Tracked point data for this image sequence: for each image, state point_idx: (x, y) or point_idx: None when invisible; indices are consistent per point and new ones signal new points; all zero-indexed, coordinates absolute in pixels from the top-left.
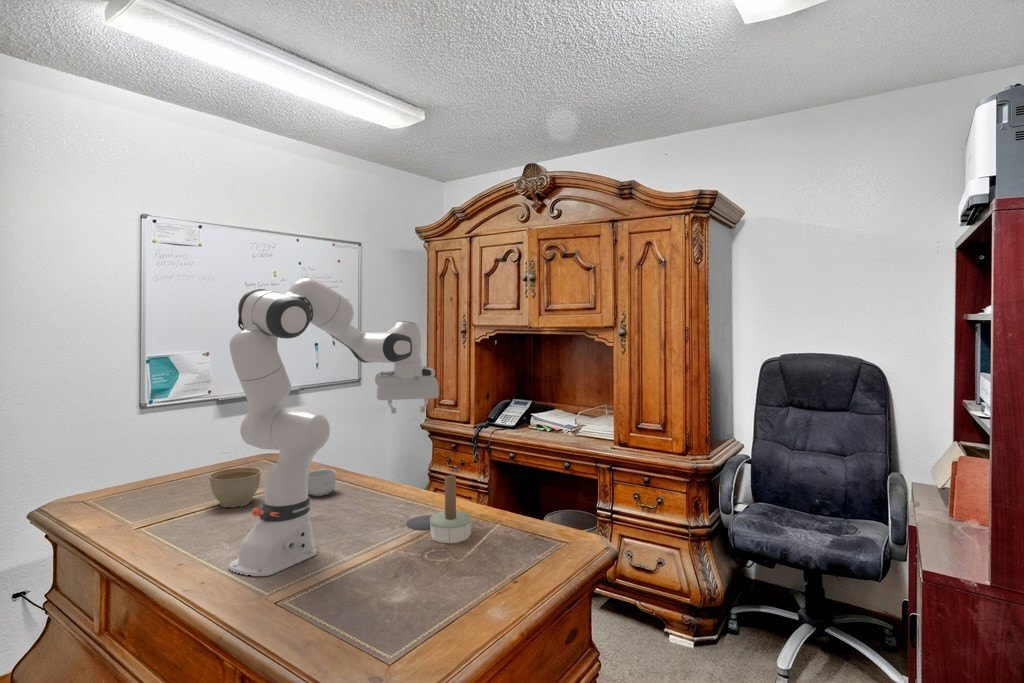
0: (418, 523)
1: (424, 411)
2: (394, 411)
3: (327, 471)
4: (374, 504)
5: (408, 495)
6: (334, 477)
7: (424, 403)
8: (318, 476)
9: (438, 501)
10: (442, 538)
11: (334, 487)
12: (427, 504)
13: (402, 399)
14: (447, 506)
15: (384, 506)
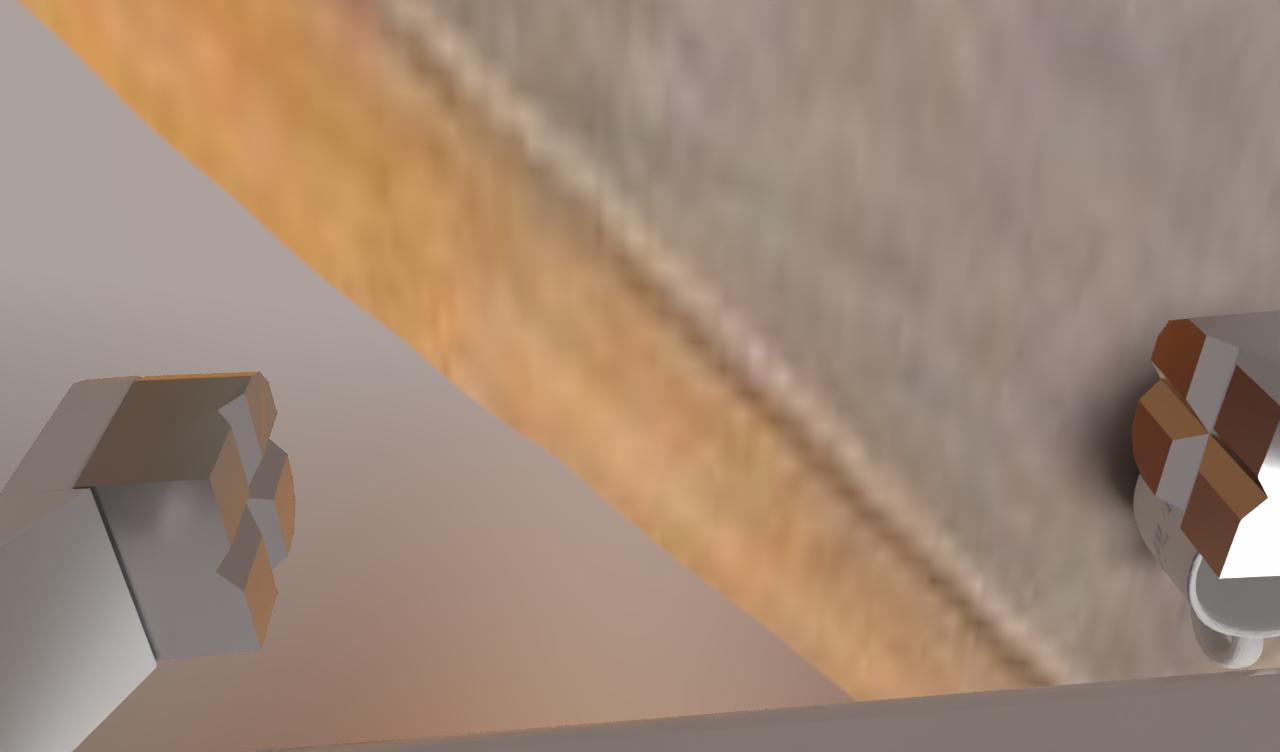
0: None
1: (103, 381)
2: (1264, 342)
3: (1222, 615)
4: (870, 154)
5: (591, 319)
6: (1180, 520)
7: (28, 748)
8: (1263, 591)
9: (326, 123)
10: None
11: (1139, 478)
12: (422, 61)
13: (1253, 679)
14: None
15: (794, 86)
